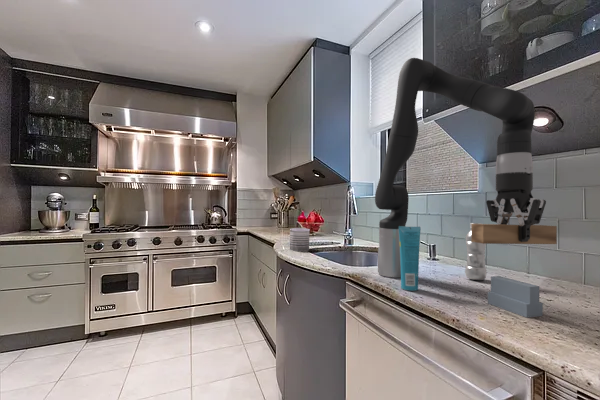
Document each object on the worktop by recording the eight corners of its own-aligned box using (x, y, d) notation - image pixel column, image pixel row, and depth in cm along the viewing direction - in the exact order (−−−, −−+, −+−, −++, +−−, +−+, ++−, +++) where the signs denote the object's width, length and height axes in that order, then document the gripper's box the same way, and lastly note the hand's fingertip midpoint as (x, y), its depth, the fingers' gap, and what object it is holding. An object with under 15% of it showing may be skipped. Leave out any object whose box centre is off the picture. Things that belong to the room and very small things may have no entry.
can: (310, 248, 168) (310, 228, 168) (308, 251, 156) (308, 229, 157) (291, 247, 169) (291, 227, 169) (287, 250, 158) (288, 229, 158)
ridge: (487, 303, 76) (487, 276, 76) (502, 301, 77) (502, 275, 77) (526, 317, 66) (526, 287, 66) (542, 315, 68) (542, 285, 68)
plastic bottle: (488, 280, 101) (489, 223, 101) (483, 283, 96) (483, 224, 97) (468, 276, 106) (468, 222, 106) (462, 279, 101) (462, 222, 101)
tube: (413, 286, 91) (414, 225, 92) (424, 290, 87) (425, 226, 87) (394, 287, 89) (394, 225, 89) (404, 292, 84) (404, 226, 85)
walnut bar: (471, 241, 73) (471, 223, 73) (541, 242, 75) (541, 225, 75) (483, 243, 69) (483, 224, 69) (556, 244, 71) (556, 226, 71)
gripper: (477, 174, 78) (477, 237, 78) (531, 168, 65) (532, 244, 64) (498, 176, 80) (498, 237, 80) (556, 170, 67) (556, 243, 66)
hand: (513, 239), depth 72 cm, fingers closed on walnut bar, 4 cm apart
